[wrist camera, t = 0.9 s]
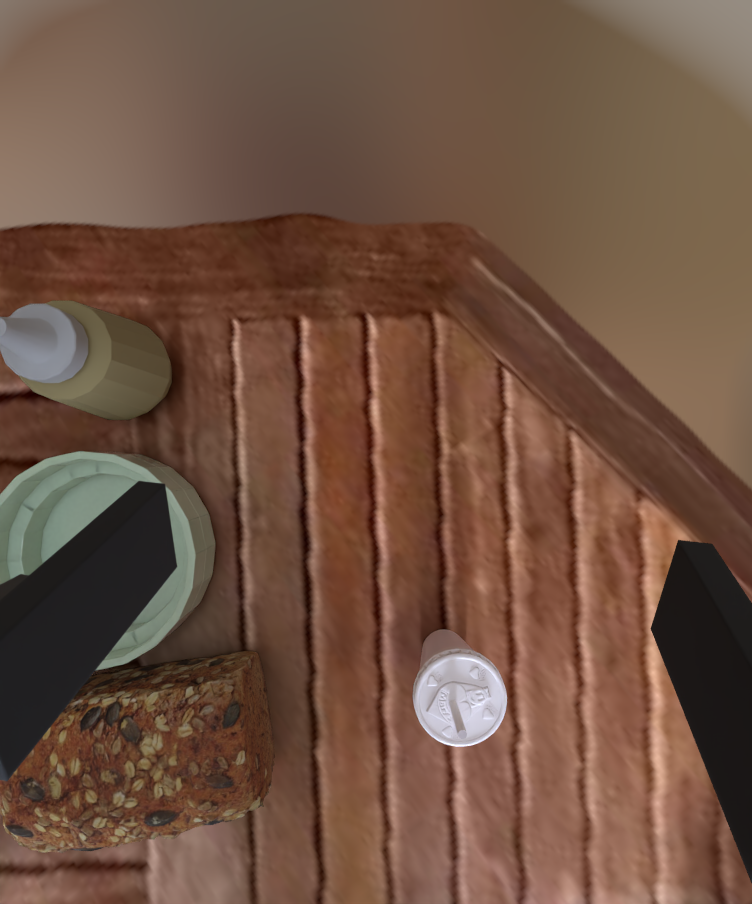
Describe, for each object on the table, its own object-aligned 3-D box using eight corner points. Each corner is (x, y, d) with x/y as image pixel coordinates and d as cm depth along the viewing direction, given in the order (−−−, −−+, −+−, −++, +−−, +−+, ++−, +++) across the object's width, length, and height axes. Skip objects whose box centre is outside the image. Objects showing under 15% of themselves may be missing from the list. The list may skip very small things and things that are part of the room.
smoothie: (396, 626, 48) (404, 696, 34) (468, 603, 48) (506, 664, 34) (419, 698, 48) (436, 799, 34) (491, 676, 48) (538, 767, 34)
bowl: (207, 652, 48) (183, 680, 42) (17, 633, 48) (-34, 659, 42) (226, 462, 48) (205, 463, 42) (37, 444, 48) (-12, 442, 42)
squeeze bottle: (204, 389, 48) (100, 348, 30) (125, 442, 48) (-27, 432, 30) (152, 310, 48) (17, 222, 30) (73, 363, 48) (-110, 306, 30)
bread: (263, 639, 48) (232, 687, 38) (282, 764, 48) (257, 846, 38) (46, 674, 48) (-42, 731, 38) (65, 798, 48) (-18, 890, 38)
